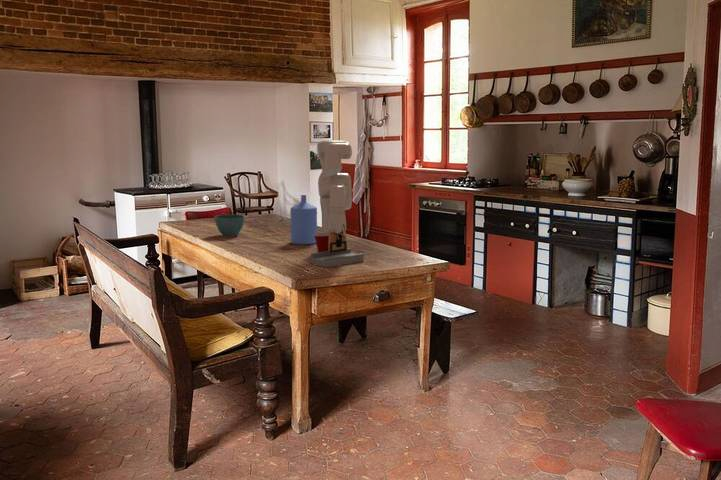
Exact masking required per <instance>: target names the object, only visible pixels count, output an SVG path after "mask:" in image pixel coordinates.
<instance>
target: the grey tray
mask: <svg viewBox="0 0 721 480" xmlns="http://www.w3.org/2000/svg"><path fill="white" fill-rule="evenodd" d="M364 257H365V256H364V253H354V252H352V248H350V247H349V248H347V251H341V252H333V253H328V251H326V252H319V253H318V252H313V253H310V264H312V265H316V266H319V267H323V268H329V267H336V266H342V265H343V266H344V265H349V264H355V263H363V262H364V261H365V259H364Z"/></svg>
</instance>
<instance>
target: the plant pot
mask: <svg viewBox="0 0 721 480" xmlns="http://www.w3.org/2000/svg"><path fill="white" fill-rule="evenodd" d="M214 221H215V225H216V227H217V230H218V232H219V233H220V234H221V235H222V236H223V237H227V238H232V237H237V236H238V234H239V233H240V232H241V230H242V229H243V226H244V223H245V215H243V214H220V215H215V216H214Z"/></svg>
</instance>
